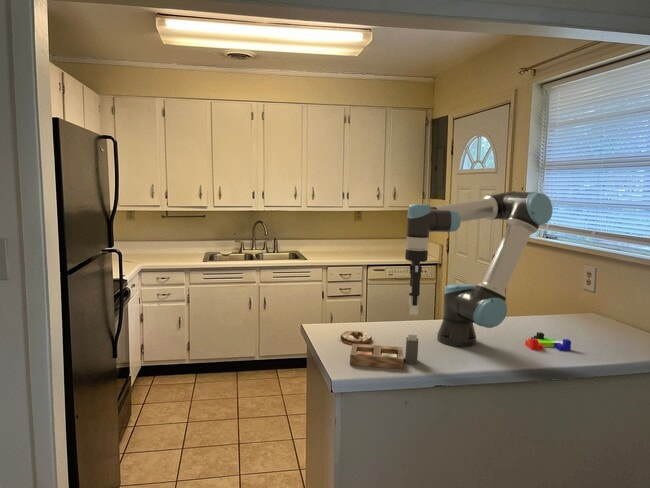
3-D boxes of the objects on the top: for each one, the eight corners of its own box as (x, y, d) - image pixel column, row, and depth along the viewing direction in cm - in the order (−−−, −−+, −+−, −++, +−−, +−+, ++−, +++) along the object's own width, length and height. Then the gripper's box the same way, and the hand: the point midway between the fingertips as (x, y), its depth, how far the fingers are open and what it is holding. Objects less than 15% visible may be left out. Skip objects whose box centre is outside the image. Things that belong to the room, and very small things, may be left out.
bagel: (341, 333, 202) (342, 323, 202) (377, 337, 198) (378, 327, 198) (332, 344, 188) (333, 334, 188) (370, 349, 184) (371, 338, 184)
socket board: (402, 356, 176) (402, 345, 176) (402, 368, 164) (403, 357, 164) (352, 352, 178) (353, 342, 178) (349, 364, 167) (350, 353, 166)
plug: (416, 359, 173) (418, 332, 172) (417, 363, 169) (418, 335, 168) (405, 358, 174) (406, 331, 173) (405, 362, 170) (406, 335, 169)
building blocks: (554, 341, 200) (555, 330, 200) (570, 351, 188) (571, 341, 187) (518, 340, 200) (518, 330, 199) (531, 351, 187) (532, 340, 187)
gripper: (405, 244, 180) (401, 300, 182) (406, 253, 155) (402, 318, 158) (425, 245, 179) (422, 301, 181) (430, 254, 154) (426, 319, 157)
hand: (413, 309), depth 169 cm, fingers open, 13 cm apart
